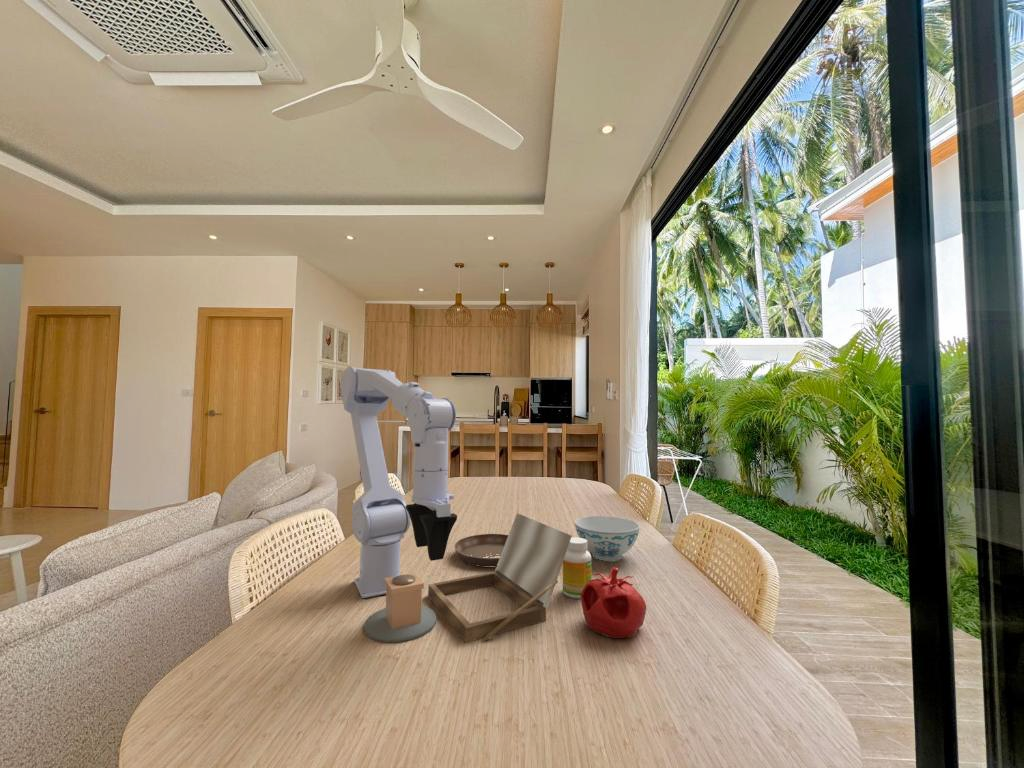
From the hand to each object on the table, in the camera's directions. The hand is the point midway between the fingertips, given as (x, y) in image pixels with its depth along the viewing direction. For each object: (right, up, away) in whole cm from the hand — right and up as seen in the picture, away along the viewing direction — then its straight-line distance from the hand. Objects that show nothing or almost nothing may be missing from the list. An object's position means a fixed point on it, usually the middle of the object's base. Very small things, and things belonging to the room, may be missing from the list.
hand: (429, 552), depth 70 cm
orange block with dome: (-4, -10, -3) cm, 11 cm away
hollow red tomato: (+30, -11, -4) cm, 32 cm away
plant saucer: (+9, -13, +29) cm, 33 cm away
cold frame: (+11, -11, +4) cm, 16 cm away
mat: (-4, -10, -3) cm, 11 cm away
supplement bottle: (+26, -12, +9) cm, 30 cm away
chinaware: (+36, -13, +30) cm, 49 cm away
